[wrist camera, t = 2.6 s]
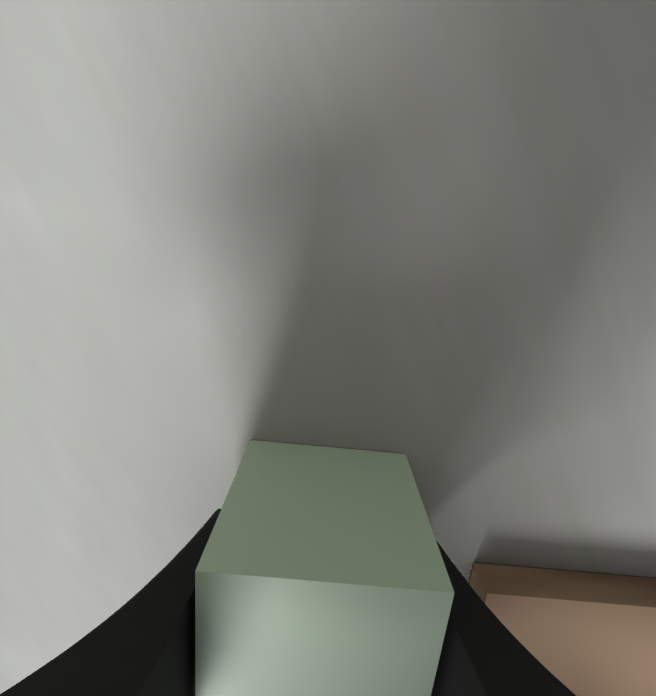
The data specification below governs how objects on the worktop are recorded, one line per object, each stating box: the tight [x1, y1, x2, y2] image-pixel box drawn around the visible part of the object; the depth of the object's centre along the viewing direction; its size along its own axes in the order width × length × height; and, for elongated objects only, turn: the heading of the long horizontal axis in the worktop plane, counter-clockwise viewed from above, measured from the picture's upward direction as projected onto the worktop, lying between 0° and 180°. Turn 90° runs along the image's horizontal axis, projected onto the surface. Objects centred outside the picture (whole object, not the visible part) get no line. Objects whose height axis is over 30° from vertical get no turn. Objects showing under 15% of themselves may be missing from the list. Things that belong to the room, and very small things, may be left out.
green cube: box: [195, 440, 454, 696], centre depth 10 cm, size 5×5×5 cm
